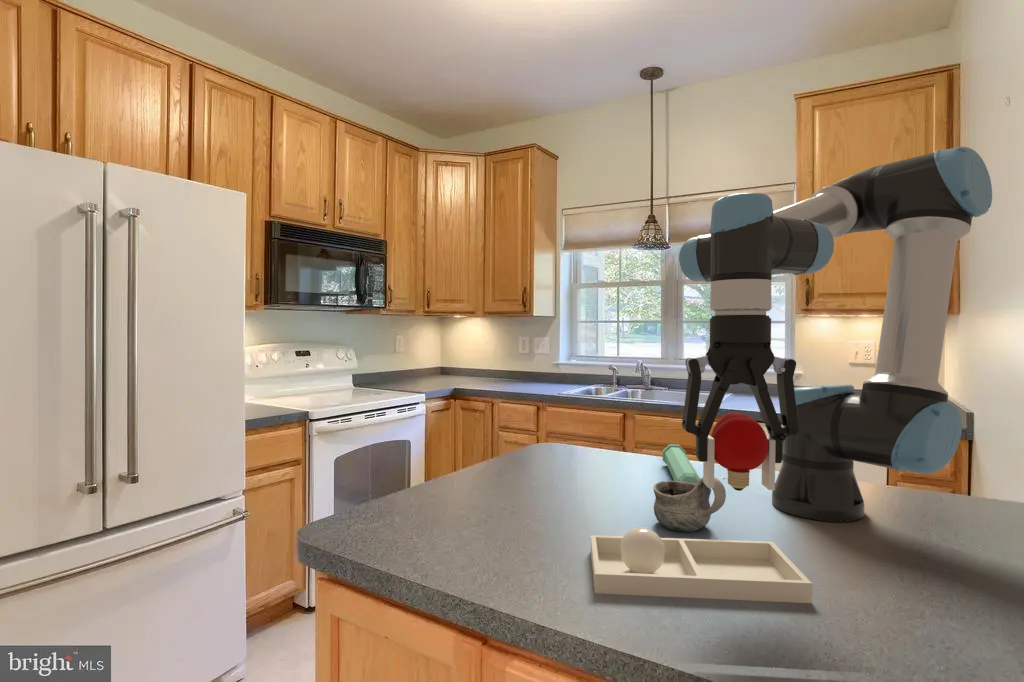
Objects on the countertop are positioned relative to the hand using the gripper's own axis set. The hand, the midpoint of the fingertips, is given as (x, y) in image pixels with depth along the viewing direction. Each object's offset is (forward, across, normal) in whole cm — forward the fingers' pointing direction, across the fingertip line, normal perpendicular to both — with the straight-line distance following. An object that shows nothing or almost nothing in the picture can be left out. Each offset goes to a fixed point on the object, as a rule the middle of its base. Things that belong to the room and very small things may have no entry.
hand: (738, 485), depth 73 cm
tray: (+13, +6, 0) cm, 14 cm away
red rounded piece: (+1, 0, 0) cm, 1 cm away
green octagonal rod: (+13, -3, -50) cm, 52 cm away
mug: (+13, +2, -18) cm, 22 cm away
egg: (+12, +12, 0) cm, 17 cm away
